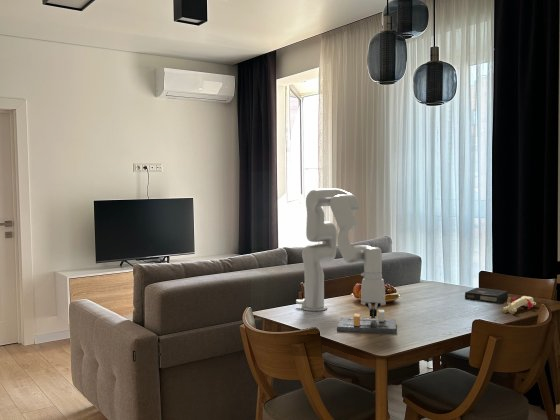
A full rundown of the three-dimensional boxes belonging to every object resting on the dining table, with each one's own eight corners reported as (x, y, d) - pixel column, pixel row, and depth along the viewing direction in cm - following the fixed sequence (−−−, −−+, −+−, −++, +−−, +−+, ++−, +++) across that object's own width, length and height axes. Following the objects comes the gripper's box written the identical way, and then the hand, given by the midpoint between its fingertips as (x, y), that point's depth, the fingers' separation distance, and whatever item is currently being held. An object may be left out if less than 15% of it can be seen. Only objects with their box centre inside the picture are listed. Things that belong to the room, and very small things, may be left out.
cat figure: (518, 318, 257) (540, 305, 274) (518, 300, 256) (540, 287, 273) (497, 314, 264) (520, 302, 281) (497, 296, 263) (519, 285, 280)
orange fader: (353, 325, 233) (353, 316, 233) (354, 323, 237) (354, 313, 237) (359, 326, 232) (359, 316, 232) (360, 323, 237) (360, 313, 237)
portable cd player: (464, 300, 292) (464, 292, 292) (476, 294, 305) (476, 287, 305) (496, 304, 282) (496, 296, 282) (507, 298, 295) (507, 291, 295)
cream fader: (378, 321, 240) (378, 311, 240) (378, 318, 244) (378, 309, 244) (384, 321, 239) (384, 312, 239) (384, 318, 244) (384, 309, 243)
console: (337, 331, 233) (337, 326, 233) (340, 321, 249) (340, 317, 249) (395, 333, 228) (395, 328, 228) (395, 323, 244) (395, 319, 244)
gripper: (354, 277, 239) (355, 319, 240) (390, 277, 236) (390, 320, 237) (356, 274, 247) (356, 315, 247) (390, 274, 244) (390, 316, 244)
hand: (373, 317), depth 242 cm, fingers closed
